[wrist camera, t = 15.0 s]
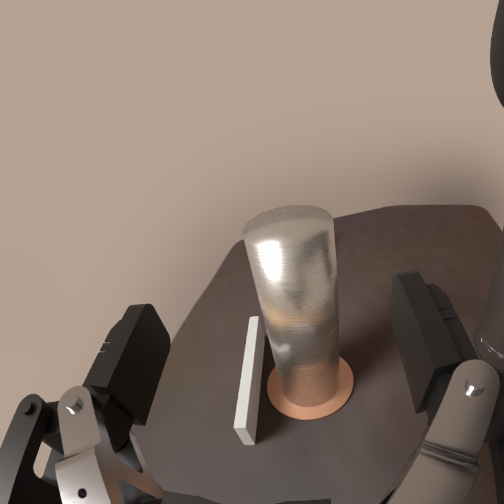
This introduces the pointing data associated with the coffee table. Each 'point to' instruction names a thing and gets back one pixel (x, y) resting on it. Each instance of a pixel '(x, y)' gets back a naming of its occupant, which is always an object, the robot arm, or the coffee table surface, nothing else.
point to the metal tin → (298, 298)
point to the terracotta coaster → (311, 412)
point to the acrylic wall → (250, 384)
